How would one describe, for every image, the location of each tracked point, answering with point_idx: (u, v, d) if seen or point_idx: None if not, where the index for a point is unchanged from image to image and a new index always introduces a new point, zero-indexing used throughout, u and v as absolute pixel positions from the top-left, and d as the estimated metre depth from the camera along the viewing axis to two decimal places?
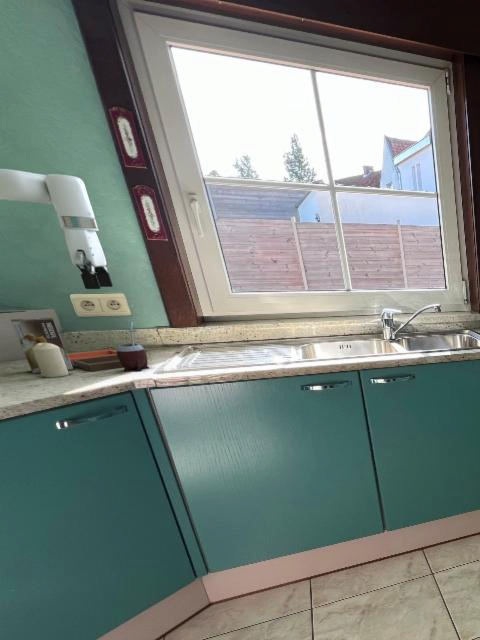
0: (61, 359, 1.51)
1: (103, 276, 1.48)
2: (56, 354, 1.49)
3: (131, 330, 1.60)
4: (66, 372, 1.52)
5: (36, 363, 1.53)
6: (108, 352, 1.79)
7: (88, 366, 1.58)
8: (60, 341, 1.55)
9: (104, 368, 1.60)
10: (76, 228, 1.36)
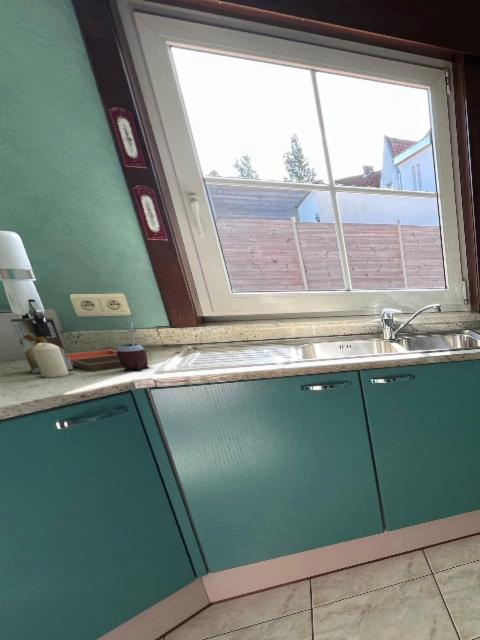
0: (61, 359, 1.51)
1: None
2: (56, 354, 1.49)
3: (131, 330, 1.60)
4: (66, 372, 1.52)
5: (36, 363, 1.53)
6: (108, 352, 1.79)
7: (88, 366, 1.58)
8: (60, 341, 1.55)
9: (104, 368, 1.60)
10: (23, 279, 1.46)
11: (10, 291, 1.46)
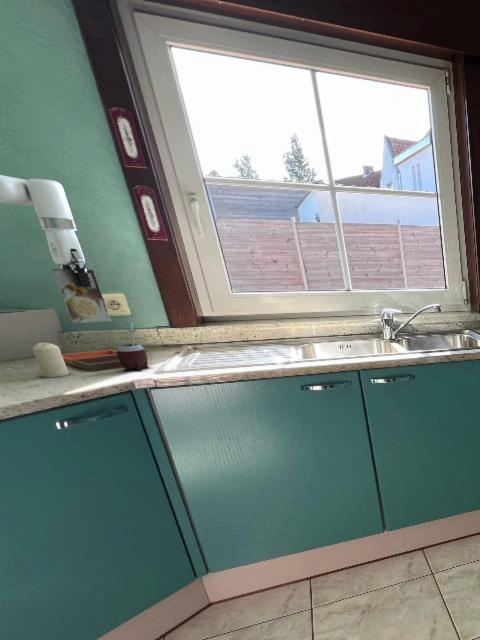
0: (61, 359, 1.51)
1: None
2: (56, 354, 1.49)
3: (131, 330, 1.60)
4: (66, 372, 1.52)
5: (76, 313, 1.55)
6: (108, 352, 1.79)
7: (88, 366, 1.58)
8: (99, 292, 1.58)
9: (104, 368, 1.60)
10: (66, 229, 1.49)
11: (53, 240, 1.48)
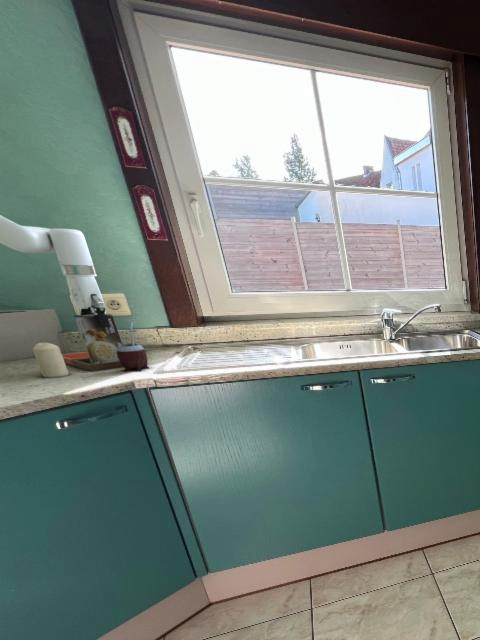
0: (61, 359, 1.51)
1: None
2: (56, 354, 1.49)
3: (131, 330, 1.60)
4: (66, 372, 1.52)
5: (96, 357, 1.61)
6: None
7: (88, 366, 1.58)
8: (118, 336, 1.64)
9: (104, 368, 1.60)
10: (86, 275, 1.54)
11: (74, 286, 1.54)
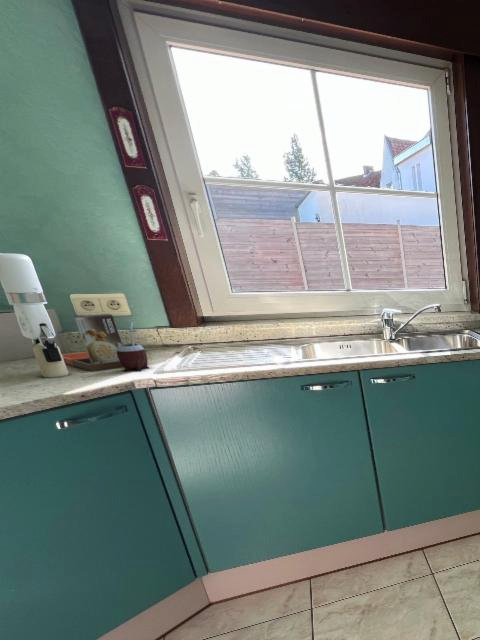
0: None
1: None
2: None
3: (131, 330, 1.60)
4: (66, 372, 1.52)
5: (96, 357, 1.61)
6: None
7: (88, 366, 1.58)
8: (118, 336, 1.64)
9: (104, 368, 1.60)
10: (34, 303, 1.42)
11: (21, 315, 1.42)
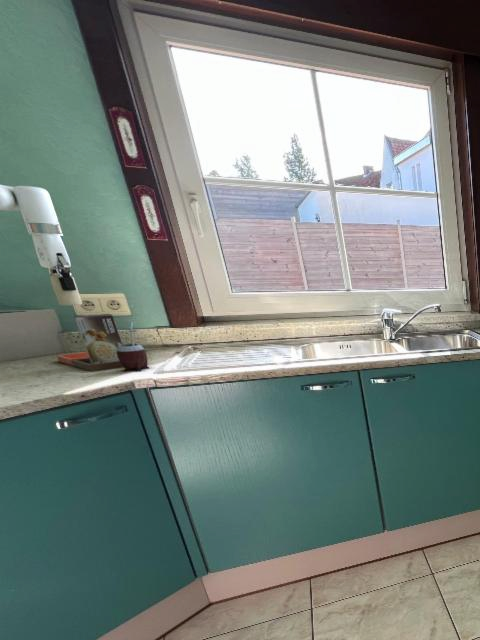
0: (76, 289, 1.63)
1: None
2: None
3: (131, 330, 1.60)
4: (80, 302, 1.64)
5: (96, 357, 1.61)
6: None
7: (88, 366, 1.58)
8: (118, 336, 1.64)
9: (104, 368, 1.60)
10: (52, 234, 1.55)
11: (39, 245, 1.54)
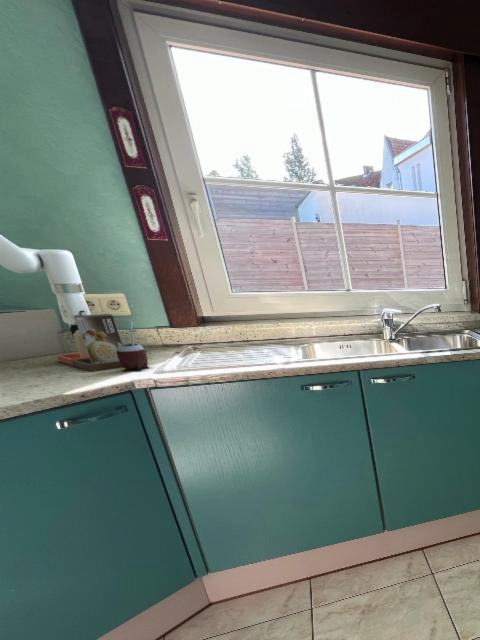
0: None
1: None
2: None
3: (131, 330, 1.60)
4: None
5: (96, 357, 1.61)
6: None
7: (88, 366, 1.58)
8: (118, 336, 1.64)
9: (104, 368, 1.60)
10: (75, 293, 1.63)
11: (63, 303, 1.62)
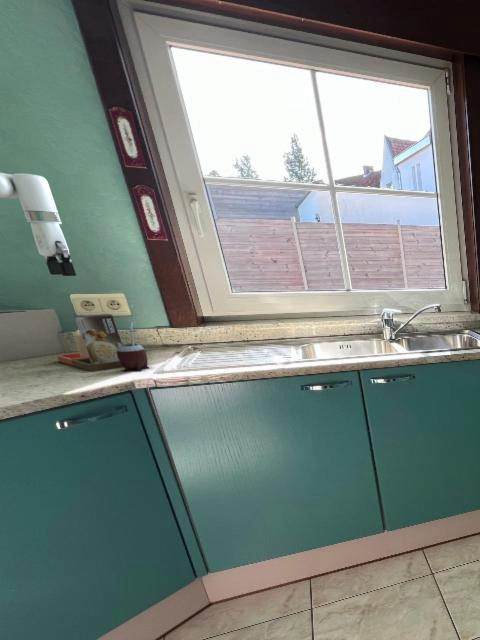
0: None
1: (56, 265, 1.63)
2: None
3: (131, 330, 1.60)
4: None
5: (96, 357, 1.61)
6: None
7: (88, 366, 1.58)
8: (118, 336, 1.64)
9: (104, 368, 1.60)
10: (50, 222, 1.55)
11: (38, 232, 1.54)
